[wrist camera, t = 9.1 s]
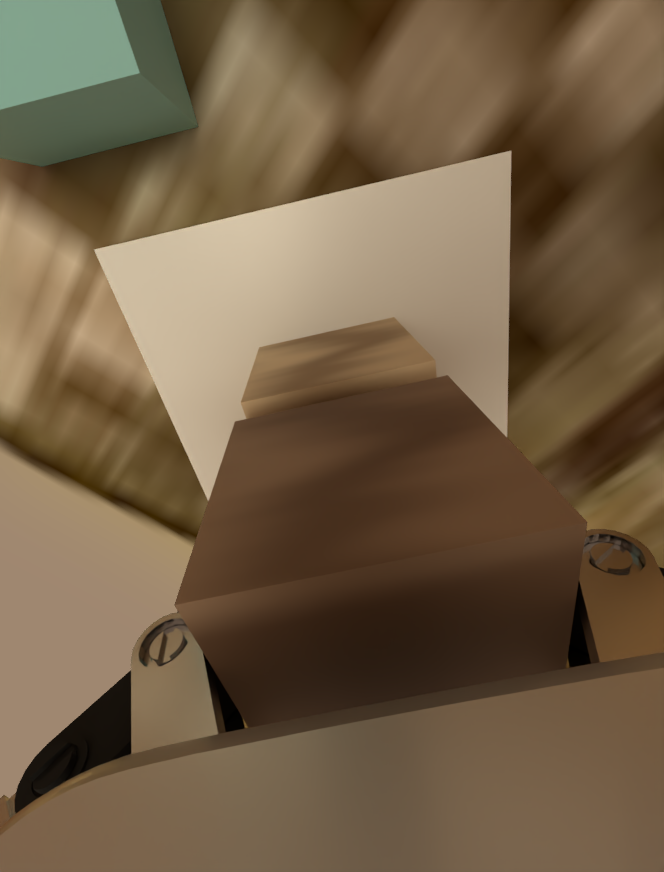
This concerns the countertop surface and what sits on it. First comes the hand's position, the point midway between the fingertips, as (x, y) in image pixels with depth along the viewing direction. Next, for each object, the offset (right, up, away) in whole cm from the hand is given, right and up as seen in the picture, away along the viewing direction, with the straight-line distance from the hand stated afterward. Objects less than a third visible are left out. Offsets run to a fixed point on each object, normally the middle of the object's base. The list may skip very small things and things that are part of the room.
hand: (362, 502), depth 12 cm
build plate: (-1, +4, +8) cm, 9 cm away
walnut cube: (0, 0, +1) cm, 1 cm away
